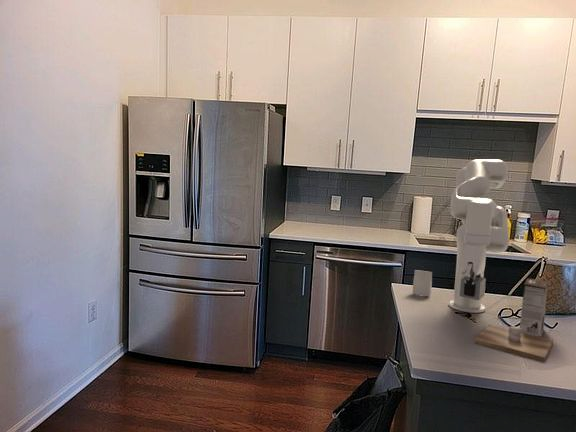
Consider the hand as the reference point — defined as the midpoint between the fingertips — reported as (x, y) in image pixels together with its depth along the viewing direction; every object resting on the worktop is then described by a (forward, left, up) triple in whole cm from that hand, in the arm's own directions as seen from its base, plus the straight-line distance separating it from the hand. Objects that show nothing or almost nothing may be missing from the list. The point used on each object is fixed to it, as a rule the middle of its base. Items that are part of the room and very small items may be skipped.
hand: (472, 292), depth 139 cm
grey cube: (0, 0, -1) cm, 1 cm away
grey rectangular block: (-24, -26, -12) cm, 37 cm away
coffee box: (-12, +16, -12) cm, 23 cm away
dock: (+5, +14, -12) cm, 19 cm away
